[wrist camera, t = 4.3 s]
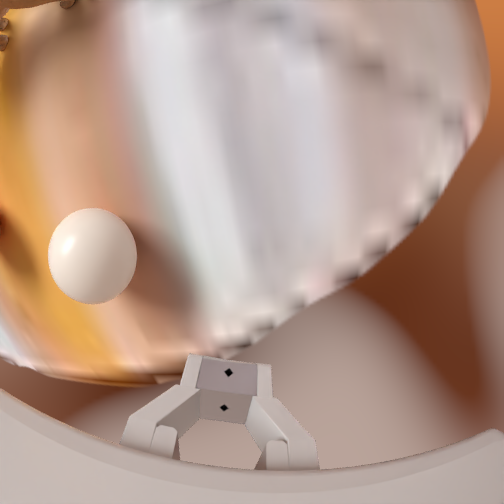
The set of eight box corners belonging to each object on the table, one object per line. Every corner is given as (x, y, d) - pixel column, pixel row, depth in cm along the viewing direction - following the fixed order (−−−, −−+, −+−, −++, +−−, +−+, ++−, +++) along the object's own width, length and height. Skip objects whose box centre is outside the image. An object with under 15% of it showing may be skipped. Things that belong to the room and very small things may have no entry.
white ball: (138, 189, 15) (88, 217, 10) (160, 272, 18) (126, 324, 13) (72, 206, 16) (18, 235, 11) (95, 278, 18) (54, 322, 13)
